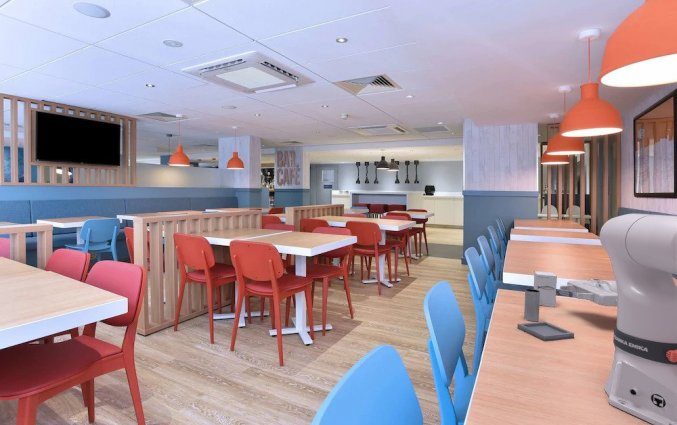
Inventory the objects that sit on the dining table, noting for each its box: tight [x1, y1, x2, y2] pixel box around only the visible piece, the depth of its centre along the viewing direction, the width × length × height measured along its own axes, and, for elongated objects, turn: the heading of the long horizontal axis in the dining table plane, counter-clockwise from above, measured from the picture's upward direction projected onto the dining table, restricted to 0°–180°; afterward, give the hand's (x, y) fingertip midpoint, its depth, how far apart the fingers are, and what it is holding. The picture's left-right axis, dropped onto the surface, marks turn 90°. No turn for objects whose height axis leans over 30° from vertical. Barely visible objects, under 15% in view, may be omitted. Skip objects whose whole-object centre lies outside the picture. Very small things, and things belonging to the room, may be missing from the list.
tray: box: [516, 321, 575, 342], centre depth 116 cm, size 11×11×2 cm
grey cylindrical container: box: [523, 288, 540, 323], centre depth 129 cm, size 4×4×10 cm
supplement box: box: [533, 270, 558, 308], centre depth 148 cm, size 7×7×13 cm
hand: (568, 291), depth 128 cm, fingers open, 8 cm apart
